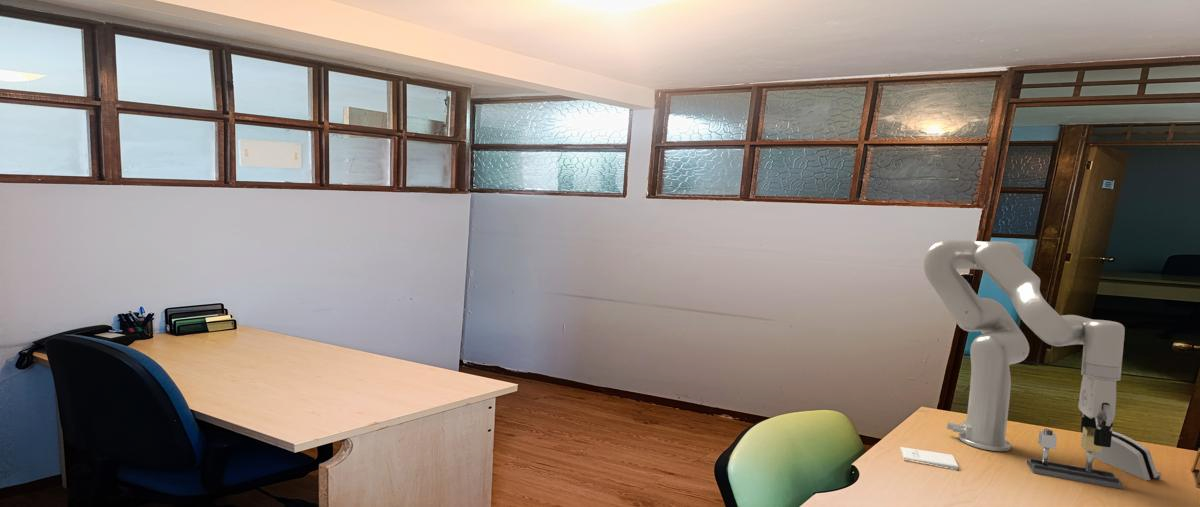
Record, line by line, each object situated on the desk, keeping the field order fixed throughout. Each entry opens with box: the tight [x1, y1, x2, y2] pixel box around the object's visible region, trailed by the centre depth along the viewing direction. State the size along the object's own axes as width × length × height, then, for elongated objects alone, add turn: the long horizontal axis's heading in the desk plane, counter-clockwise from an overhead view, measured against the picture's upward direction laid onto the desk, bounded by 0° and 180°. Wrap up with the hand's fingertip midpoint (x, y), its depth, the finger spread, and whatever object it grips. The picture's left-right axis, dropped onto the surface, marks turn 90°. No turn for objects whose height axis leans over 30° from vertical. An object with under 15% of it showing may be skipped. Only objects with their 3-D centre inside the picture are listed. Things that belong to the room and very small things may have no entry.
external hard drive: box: [899, 446, 959, 471], centre depth 160 cm, size 2×8×12 cm
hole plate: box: [1026, 428, 1124, 490], centre depth 154 cm, size 18×7×10 cm, turn 66°
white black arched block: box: [1084, 430, 1163, 481], centre depth 162 cm, size 17×5×10 cm, turn 8°
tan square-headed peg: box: [1080, 426, 1102, 472], centre depth 153 cm, size 3×3×11 cm
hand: (1095, 439), depth 152 cm, fingers open, 9 cm apart
